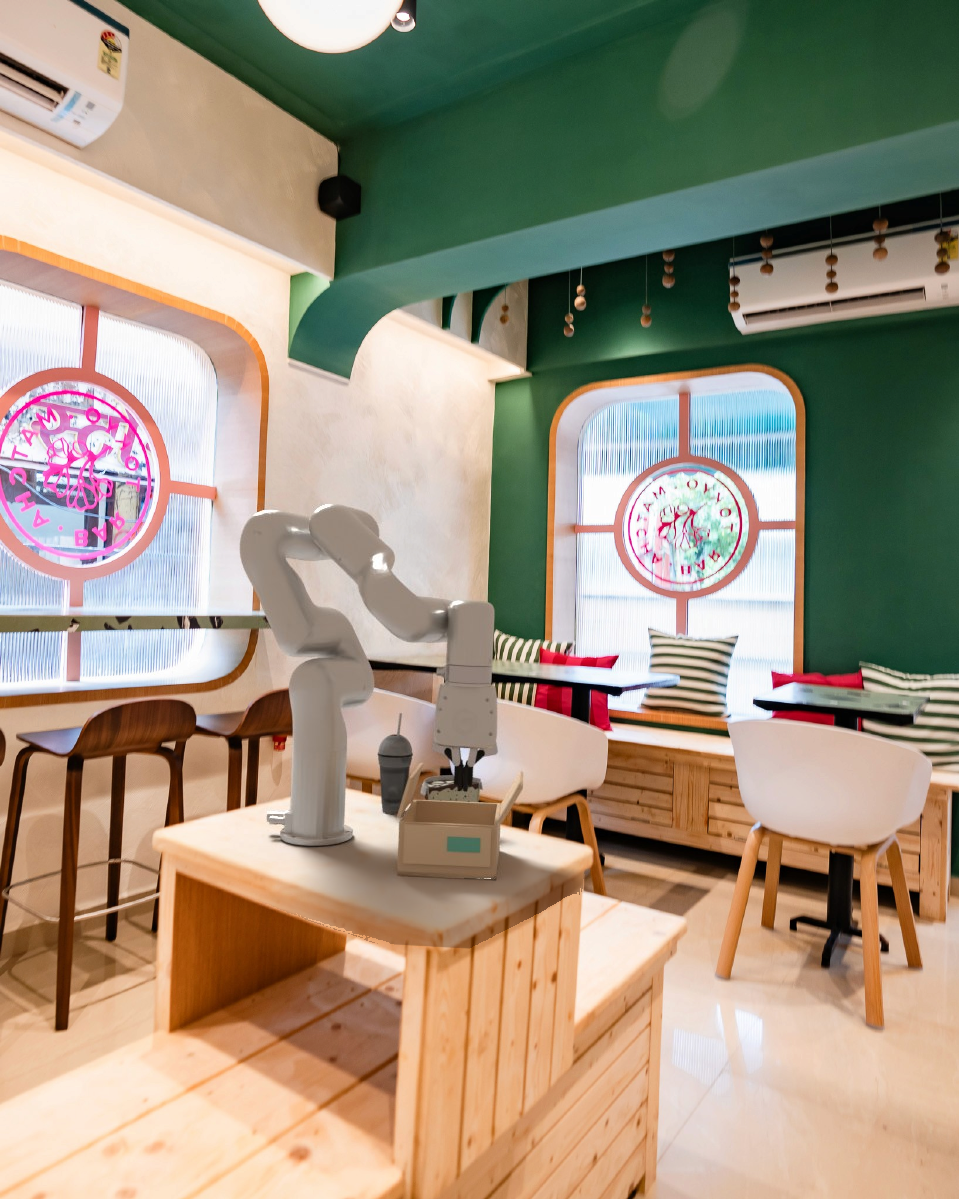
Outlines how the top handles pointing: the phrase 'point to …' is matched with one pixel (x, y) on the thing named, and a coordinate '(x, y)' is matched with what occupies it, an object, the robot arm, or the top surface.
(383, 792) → the beverage cup
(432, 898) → the top surface
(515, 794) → the right flap
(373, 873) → the top surface
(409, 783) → the left flap
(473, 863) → the carton
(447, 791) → the food container
